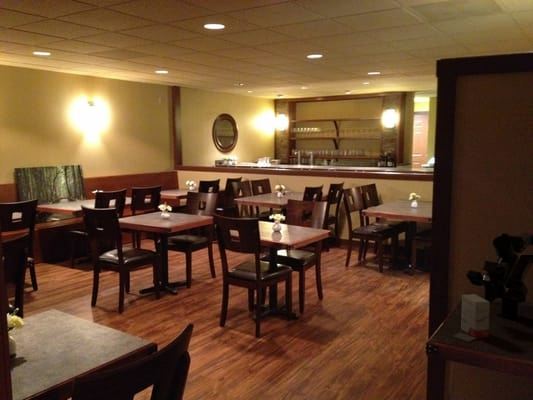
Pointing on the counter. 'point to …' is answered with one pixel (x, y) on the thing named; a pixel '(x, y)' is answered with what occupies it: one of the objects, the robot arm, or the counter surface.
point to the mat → (464, 337)
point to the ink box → (475, 316)
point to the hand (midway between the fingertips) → (485, 303)
